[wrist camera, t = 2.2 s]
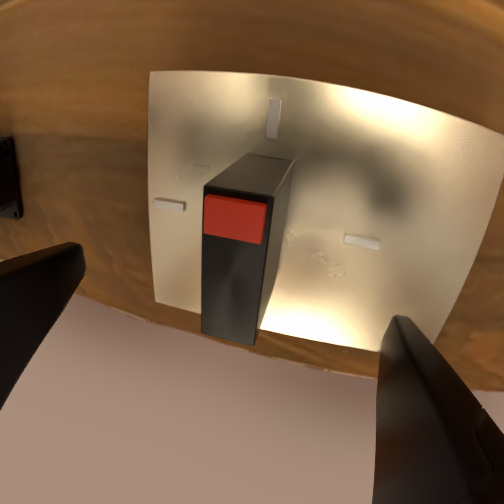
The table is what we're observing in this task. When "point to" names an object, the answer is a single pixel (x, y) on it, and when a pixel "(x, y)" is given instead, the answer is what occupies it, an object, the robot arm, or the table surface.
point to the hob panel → (325, 197)
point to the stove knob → (242, 245)
